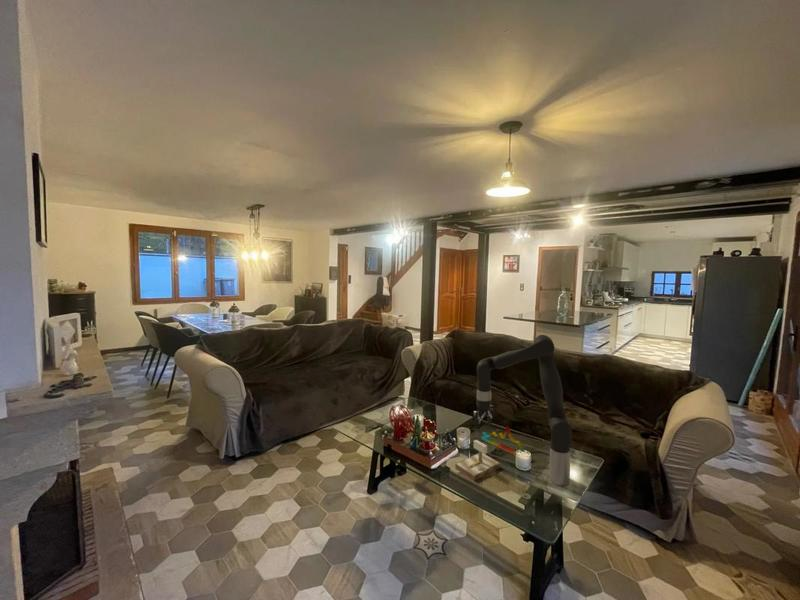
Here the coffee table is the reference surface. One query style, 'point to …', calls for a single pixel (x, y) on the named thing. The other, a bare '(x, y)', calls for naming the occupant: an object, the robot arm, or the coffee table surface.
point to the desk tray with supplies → (477, 466)
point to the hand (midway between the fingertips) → (483, 427)
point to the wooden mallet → (481, 448)
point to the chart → (499, 445)
